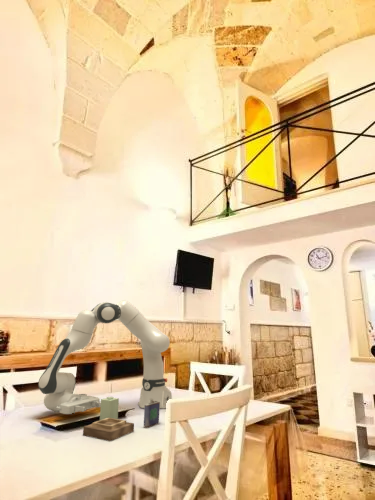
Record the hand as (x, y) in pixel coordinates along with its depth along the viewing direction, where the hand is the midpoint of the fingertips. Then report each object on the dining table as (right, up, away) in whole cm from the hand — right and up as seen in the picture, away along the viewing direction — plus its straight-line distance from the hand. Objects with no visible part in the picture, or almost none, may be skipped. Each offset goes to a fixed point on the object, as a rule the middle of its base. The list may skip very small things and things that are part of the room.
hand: (92, 407), depth 151 cm
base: (+12, -1, -20) cm, 24 cm away
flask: (+28, -4, -9) cm, 30 cm away
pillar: (+9, -4, -6) cm, 12 cm away
